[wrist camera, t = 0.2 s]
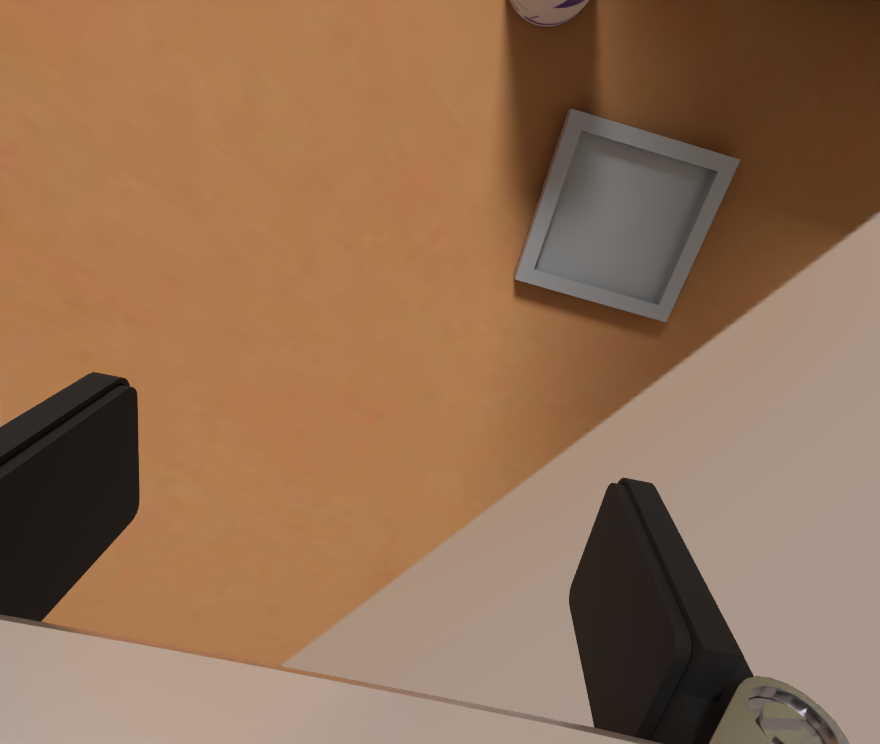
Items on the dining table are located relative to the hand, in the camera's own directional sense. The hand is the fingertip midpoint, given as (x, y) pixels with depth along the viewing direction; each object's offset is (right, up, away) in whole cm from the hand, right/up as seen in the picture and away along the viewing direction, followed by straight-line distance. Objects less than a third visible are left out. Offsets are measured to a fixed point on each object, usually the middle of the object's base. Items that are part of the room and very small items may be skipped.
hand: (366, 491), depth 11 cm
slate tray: (+13, +13, +27) cm, 33 cm away
